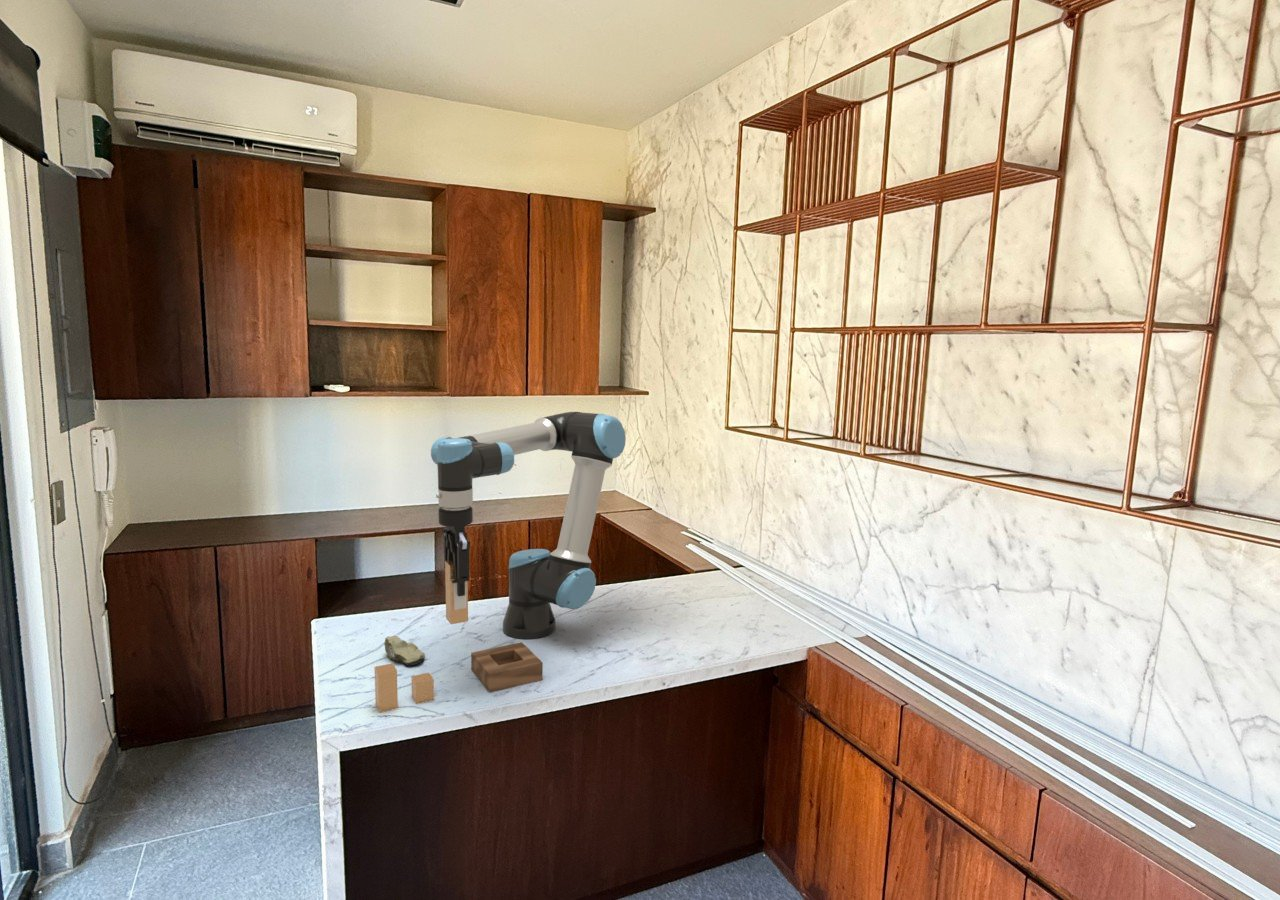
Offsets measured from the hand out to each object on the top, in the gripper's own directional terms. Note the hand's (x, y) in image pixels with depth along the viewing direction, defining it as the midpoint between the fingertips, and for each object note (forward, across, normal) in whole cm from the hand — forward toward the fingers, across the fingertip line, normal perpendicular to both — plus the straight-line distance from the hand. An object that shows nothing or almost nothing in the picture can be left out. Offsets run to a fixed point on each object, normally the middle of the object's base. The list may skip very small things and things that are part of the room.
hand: (457, 604), depth 161 cm
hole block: (+21, -2, +13) cm, 25 cm away
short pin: (+21, 0, -8) cm, 23 cm away
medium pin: (+21, 0, -16) cm, 27 cm away
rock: (+21, -22, -8) cm, 32 cm away
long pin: (+4, 0, 0) cm, 4 cm away
